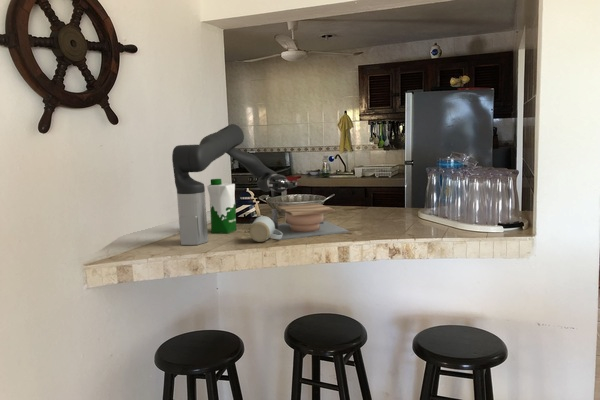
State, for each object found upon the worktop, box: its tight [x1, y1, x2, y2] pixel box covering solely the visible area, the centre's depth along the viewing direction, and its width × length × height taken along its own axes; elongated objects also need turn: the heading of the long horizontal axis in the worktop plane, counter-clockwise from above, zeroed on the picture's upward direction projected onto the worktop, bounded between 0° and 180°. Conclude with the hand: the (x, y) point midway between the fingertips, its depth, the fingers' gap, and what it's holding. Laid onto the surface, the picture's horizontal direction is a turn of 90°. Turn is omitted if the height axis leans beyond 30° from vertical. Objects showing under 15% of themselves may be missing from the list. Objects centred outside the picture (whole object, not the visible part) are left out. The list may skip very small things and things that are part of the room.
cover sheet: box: [277, 202, 336, 216], centre depth 167 cm, size 18×16×1 cm
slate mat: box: [273, 219, 350, 241], centre depth 172 cm, size 26×26×1 cm
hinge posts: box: [271, 208, 323, 229], centre depth 176 cm, size 2×20×8 cm, turn 109°
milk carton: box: [206, 178, 237, 234], centre depth 173 cm, size 9×9×20 cm
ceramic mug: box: [249, 215, 283, 243], centre depth 155 cm, size 11×8×8 cm
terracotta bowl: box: [284, 212, 324, 232], centre depth 169 cm, size 14×14×7 cm
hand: (289, 185), depth 183 cm, fingers closed
